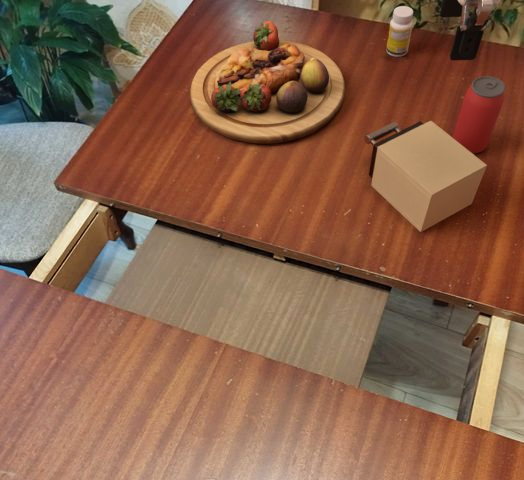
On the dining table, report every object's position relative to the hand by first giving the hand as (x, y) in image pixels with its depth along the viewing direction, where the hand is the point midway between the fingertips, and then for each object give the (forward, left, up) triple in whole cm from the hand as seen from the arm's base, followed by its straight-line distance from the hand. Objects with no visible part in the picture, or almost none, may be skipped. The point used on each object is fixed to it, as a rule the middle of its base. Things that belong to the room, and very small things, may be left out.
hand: (456, 36), depth 71 cm
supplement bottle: (-26, -36, -29) cm, 53 cm away
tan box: (-2, 0, -29) cm, 29 cm away
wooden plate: (+5, -40, -29) cm, 50 cm away
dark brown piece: (-2, -5, -28) cm, 28 cm away
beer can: (-18, -5, -29) cm, 34 cm away
